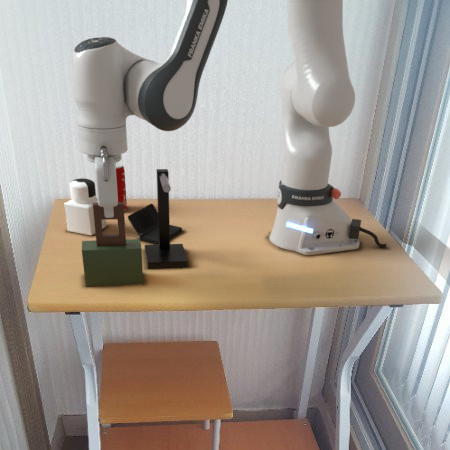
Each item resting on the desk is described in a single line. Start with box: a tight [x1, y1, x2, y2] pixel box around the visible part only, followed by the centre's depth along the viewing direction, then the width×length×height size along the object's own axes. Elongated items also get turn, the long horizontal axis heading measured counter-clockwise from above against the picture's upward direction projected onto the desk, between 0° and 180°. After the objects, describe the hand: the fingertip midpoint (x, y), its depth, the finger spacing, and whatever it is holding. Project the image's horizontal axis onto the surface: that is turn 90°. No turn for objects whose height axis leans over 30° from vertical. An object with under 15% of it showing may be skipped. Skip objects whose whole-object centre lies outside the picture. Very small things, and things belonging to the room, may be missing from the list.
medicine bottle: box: [63, 177, 107, 236], centre depth 144 cm, size 7×7×12 cm
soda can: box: [116, 162, 128, 212], centre depth 156 cm, size 6×6×12 cm
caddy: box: [81, 202, 144, 287], centre depth 120 cm, size 12×5×16 cm, turn 100°
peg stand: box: [144, 168, 189, 270], centre depth 129 cm, size 9×11×19 cm
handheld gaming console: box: [127, 203, 183, 245], centre depth 145 cm, size 12×7×10 cm
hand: (109, 214), depth 117 cm, fingers closed on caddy
